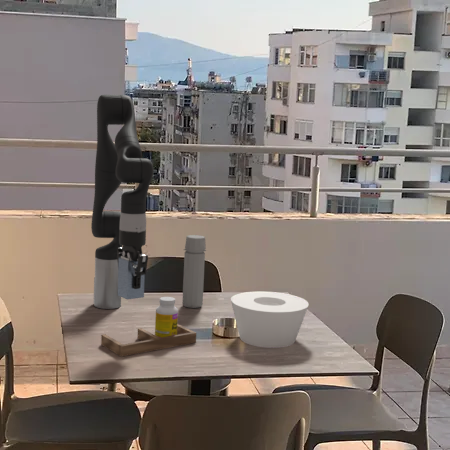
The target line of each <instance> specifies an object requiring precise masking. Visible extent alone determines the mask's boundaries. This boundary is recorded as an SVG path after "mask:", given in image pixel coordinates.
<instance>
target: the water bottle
mask: <svg viewBox="0 0 450 450" xmlns="http://www.w3.org/2000/svg"><path fill="white" fill-rule="evenodd" d="M206 249H207V248H206V236H203V235H197V234H189V235H186V237H185V245H184V249H183V251H184V258H183V263H184V264H183V265H184V266H183V281H182V282H183V283H182V306H184V308H185V307H186V308H188V309H198V308H202V306H203V304H204V303H203V301H204V299H203V298H204V284H205V283H204V281H205V280H204V279H205V259H206V258H205V256H206V251H207V250H206Z"/></svg>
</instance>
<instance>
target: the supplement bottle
mask: <svg viewBox="0 0 450 450" xmlns="http://www.w3.org/2000/svg"><path fill="white" fill-rule="evenodd" d="M175 304H176V298H175V297H173V296H162V297H159V305H158V306H157V307H156V308H155V323H154V324H155V325H154V335H155V336H157V337H159V338H162V337H167V336H173V335H177V324H178V321H179V320H178V317H179V316H178V315H179V310H178V307H176V306H175Z"/></svg>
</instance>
